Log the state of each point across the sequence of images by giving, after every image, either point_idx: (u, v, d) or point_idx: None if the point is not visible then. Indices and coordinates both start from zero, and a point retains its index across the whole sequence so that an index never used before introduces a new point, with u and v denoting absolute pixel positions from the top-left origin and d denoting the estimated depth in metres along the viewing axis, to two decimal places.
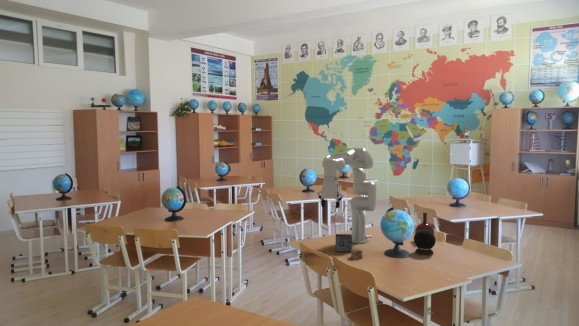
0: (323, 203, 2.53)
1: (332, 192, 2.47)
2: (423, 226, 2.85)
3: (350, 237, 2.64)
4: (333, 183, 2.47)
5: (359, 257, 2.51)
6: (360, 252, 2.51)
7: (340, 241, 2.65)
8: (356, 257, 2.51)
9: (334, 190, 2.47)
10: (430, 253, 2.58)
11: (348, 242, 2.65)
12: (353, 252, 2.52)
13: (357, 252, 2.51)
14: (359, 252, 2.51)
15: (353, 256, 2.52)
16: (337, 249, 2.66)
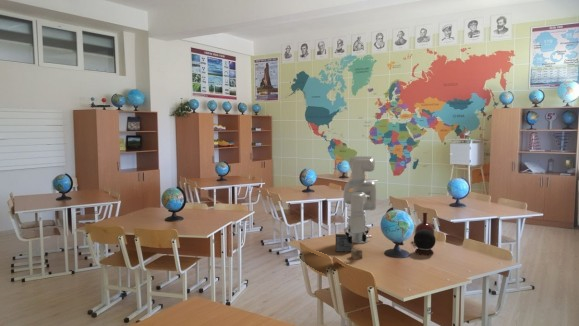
0: None
1: (362, 227, 2.51)
2: (423, 226, 2.85)
3: None
4: (363, 218, 2.51)
5: (359, 257, 2.51)
6: (360, 252, 2.51)
7: (340, 241, 2.65)
8: (356, 257, 2.51)
9: (364, 224, 2.51)
10: (430, 253, 2.58)
11: None
12: (353, 252, 2.52)
13: (357, 252, 2.51)
14: (359, 252, 2.51)
15: (353, 256, 2.52)
16: (337, 249, 2.66)
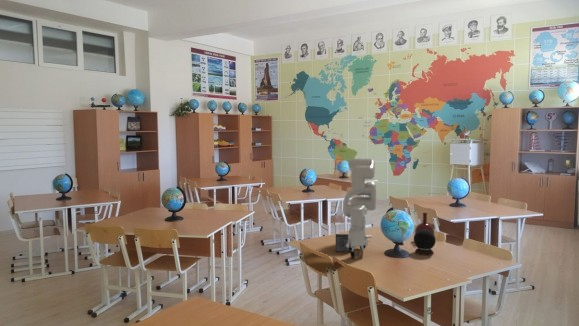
0: None
1: (362, 240, 2.51)
2: (423, 226, 2.85)
3: None
4: (363, 231, 2.51)
5: (359, 257, 2.51)
6: (360, 252, 2.51)
7: (340, 241, 2.65)
8: (356, 257, 2.51)
9: (364, 238, 2.52)
10: (430, 253, 2.58)
11: None
12: None
13: (357, 252, 2.51)
14: (359, 252, 2.51)
15: None
16: (337, 249, 2.66)
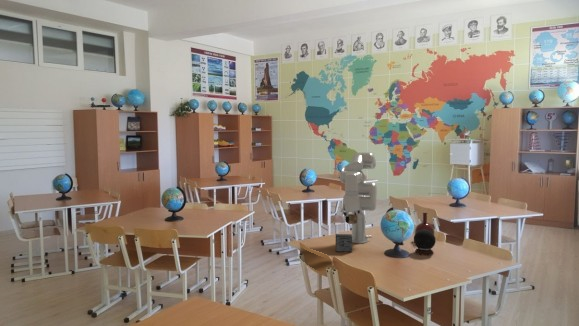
0: None
1: (356, 205, 2.57)
2: (423, 226, 2.85)
3: (350, 237, 2.64)
4: (357, 196, 2.57)
5: (354, 222, 2.57)
6: (354, 217, 2.57)
7: (340, 241, 2.65)
8: (350, 222, 2.56)
9: (358, 203, 2.57)
10: (430, 253, 2.58)
11: (348, 242, 2.65)
12: None
13: (352, 217, 2.56)
14: (354, 217, 2.56)
15: None
16: (337, 249, 2.66)
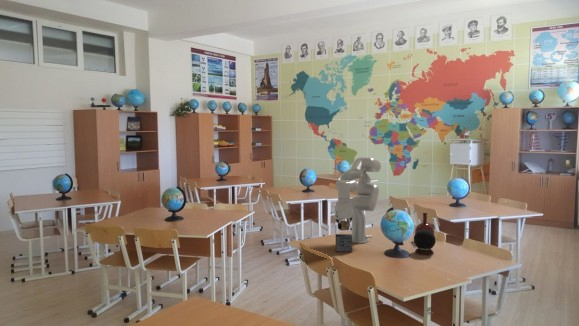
0: None
1: (349, 212, 2.65)
2: (423, 226, 2.85)
3: (350, 237, 2.64)
4: (349, 204, 2.65)
5: (346, 228, 2.65)
6: (347, 224, 2.65)
7: (340, 241, 2.65)
8: (343, 229, 2.64)
9: (350, 210, 2.66)
10: (430, 253, 2.58)
11: (348, 242, 2.65)
12: None
13: (344, 224, 2.64)
14: (346, 224, 2.65)
15: None
16: (337, 249, 2.66)
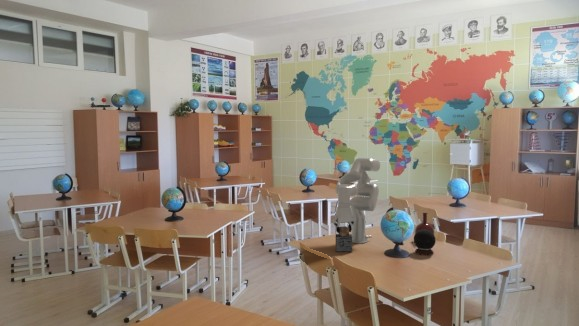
0: None
1: (349, 217, 2.66)
2: (423, 226, 2.85)
3: (350, 237, 2.64)
4: (349, 208, 2.65)
5: (346, 234, 2.66)
6: (347, 229, 2.65)
7: (340, 241, 2.65)
8: (343, 234, 2.65)
9: (350, 215, 2.66)
10: (430, 253, 2.58)
11: (348, 242, 2.65)
12: (340, 229, 2.66)
13: (344, 229, 2.65)
14: (346, 229, 2.65)
15: (340, 233, 2.66)
16: (337, 249, 2.66)
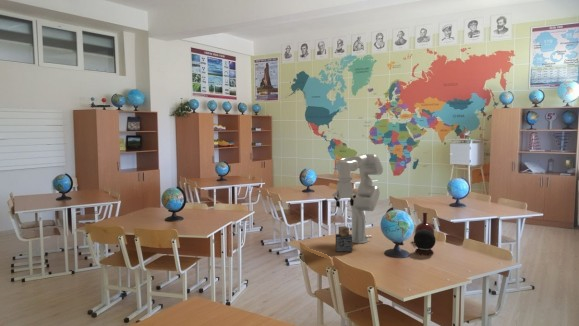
0: None
1: (350, 192, 2.67)
2: (423, 226, 2.85)
3: (350, 237, 2.64)
4: (350, 183, 2.67)
5: (346, 234, 2.66)
6: (347, 229, 2.65)
7: (340, 241, 2.65)
8: (343, 234, 2.65)
9: (351, 189, 2.68)
10: (430, 253, 2.58)
11: (348, 242, 2.65)
12: (340, 229, 2.66)
13: (344, 229, 2.65)
14: (346, 229, 2.65)
15: (340, 233, 2.66)
16: (337, 249, 2.66)
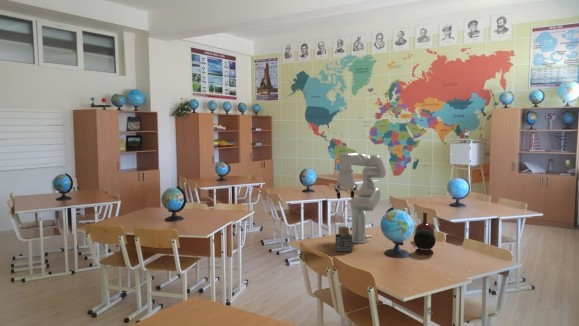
0: None
1: (350, 183, 2.71)
2: (423, 226, 2.85)
3: (350, 237, 2.64)
4: (351, 175, 2.71)
5: (346, 234, 2.65)
6: (347, 229, 2.65)
7: (340, 241, 2.65)
8: (342, 234, 2.65)
9: (352, 181, 2.71)
10: (430, 253, 2.58)
11: (348, 242, 2.65)
12: (340, 229, 2.66)
13: (344, 229, 2.65)
14: (346, 229, 2.65)
15: (340, 233, 2.66)
16: (337, 249, 2.66)
